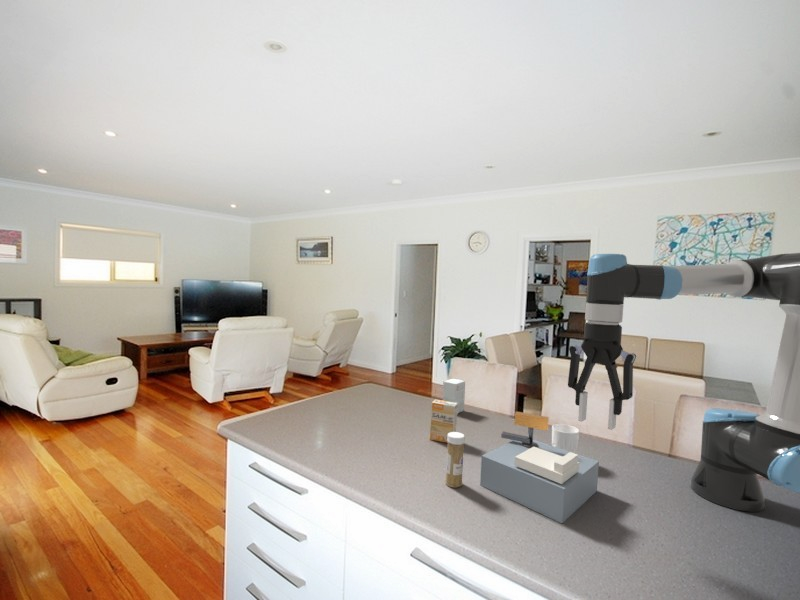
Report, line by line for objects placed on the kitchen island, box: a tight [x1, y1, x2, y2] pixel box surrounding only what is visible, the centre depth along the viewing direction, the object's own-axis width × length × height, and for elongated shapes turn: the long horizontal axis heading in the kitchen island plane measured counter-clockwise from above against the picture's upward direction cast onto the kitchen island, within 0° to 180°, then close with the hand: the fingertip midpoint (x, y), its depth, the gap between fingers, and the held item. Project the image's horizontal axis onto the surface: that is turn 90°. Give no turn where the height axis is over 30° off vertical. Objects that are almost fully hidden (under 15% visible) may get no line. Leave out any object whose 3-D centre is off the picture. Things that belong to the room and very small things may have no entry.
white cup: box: [551, 423, 580, 454], centre depth 122 cm, size 8×8×10 cm
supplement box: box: [429, 398, 458, 444], centre depth 134 cm, size 8×5×13 cm, turn 68°
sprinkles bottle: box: [445, 431, 466, 488], centre depth 104 cm, size 5×5×14 cm
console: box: [479, 439, 600, 524], centre depth 104 cm, size 22×22×8 cm
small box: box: [442, 378, 466, 415], centre depth 165 cm, size 8×6×13 cm
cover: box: [514, 447, 579, 484], centre depth 97 cm, size 12×10×4 cm
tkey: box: [500, 410, 550, 444], centre depth 113 cm, size 2×12×8 cm, turn 64°
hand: (596, 423), depth 89 cm, fingers open, 6 cm apart
